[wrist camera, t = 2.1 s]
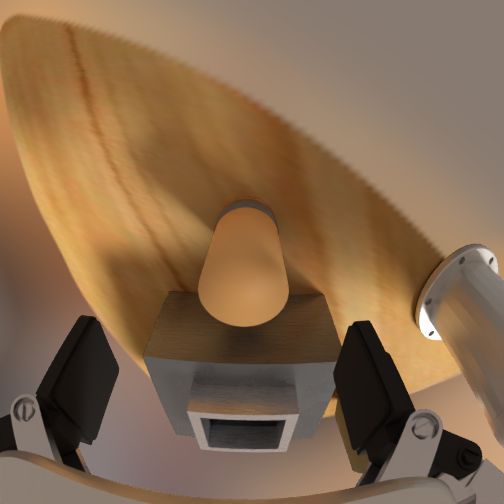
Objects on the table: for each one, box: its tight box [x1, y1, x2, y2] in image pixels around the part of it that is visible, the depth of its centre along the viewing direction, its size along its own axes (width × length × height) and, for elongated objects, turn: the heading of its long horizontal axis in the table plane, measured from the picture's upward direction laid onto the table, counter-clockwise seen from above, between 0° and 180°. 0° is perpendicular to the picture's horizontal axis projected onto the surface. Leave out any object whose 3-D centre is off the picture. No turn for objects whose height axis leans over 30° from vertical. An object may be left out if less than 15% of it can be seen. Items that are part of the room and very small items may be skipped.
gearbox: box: [143, 291, 342, 452], centre depth 22 cm, size 14×13×10 cm
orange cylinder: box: [198, 197, 289, 327], centre depth 17 cm, size 4×4×9 cm
